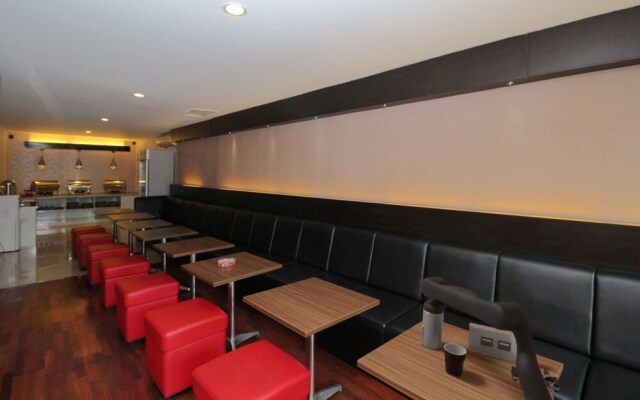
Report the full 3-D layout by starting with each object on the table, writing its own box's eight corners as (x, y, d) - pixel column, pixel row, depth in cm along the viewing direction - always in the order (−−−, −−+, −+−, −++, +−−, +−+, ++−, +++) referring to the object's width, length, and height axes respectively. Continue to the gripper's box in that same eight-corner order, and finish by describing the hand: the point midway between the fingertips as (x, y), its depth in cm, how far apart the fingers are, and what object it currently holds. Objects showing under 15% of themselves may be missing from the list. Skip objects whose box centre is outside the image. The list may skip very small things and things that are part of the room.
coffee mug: (455, 380, 124) (456, 356, 123) (438, 368, 131) (439, 346, 131) (474, 373, 129) (475, 350, 128) (456, 361, 137) (458, 340, 136)
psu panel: (467, 351, 146) (469, 326, 145) (468, 346, 150) (469, 322, 149) (523, 365, 136) (525, 338, 135) (521, 359, 140) (523, 334, 139)
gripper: (565, 389, 102) (554, 364, 117) (515, 376, 109) (510, 353, 123) (564, 411, 103) (552, 383, 117) (513, 396, 109) (509, 371, 123)
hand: (531, 368), depth 120 cm, fingers open, 8 cm apart
